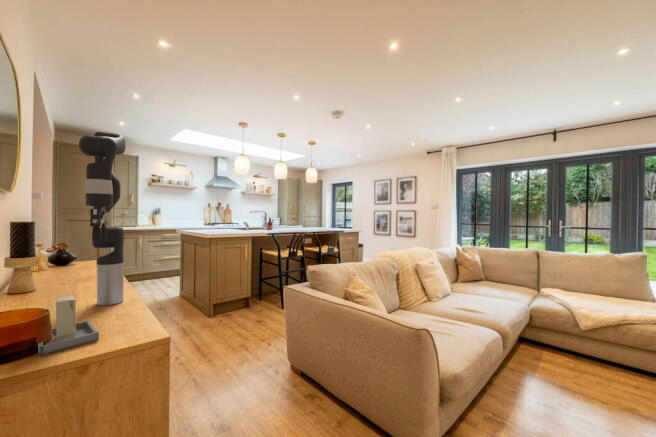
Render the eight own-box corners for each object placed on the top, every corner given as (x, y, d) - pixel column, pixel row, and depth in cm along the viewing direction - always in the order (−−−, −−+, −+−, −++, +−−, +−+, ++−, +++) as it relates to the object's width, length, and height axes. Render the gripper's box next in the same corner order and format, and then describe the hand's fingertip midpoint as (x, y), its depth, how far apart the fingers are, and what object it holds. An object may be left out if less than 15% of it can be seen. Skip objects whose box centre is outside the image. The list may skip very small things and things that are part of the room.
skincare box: (76, 339, 84) (75, 299, 84) (56, 344, 81) (55, 302, 81) (75, 333, 89) (75, 295, 89) (56, 337, 86) (56, 297, 86)
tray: (35, 340, 85) (35, 332, 85) (88, 327, 95) (88, 320, 95) (39, 356, 76) (39, 347, 76) (98, 340, 85) (98, 332, 85)
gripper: (108, 192, 95) (109, 239, 95) (115, 194, 107) (115, 236, 107) (80, 191, 91) (80, 240, 91) (90, 193, 103) (90, 237, 104)
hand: (99, 238), depth 99 cm, fingers open, 8 cm apart
